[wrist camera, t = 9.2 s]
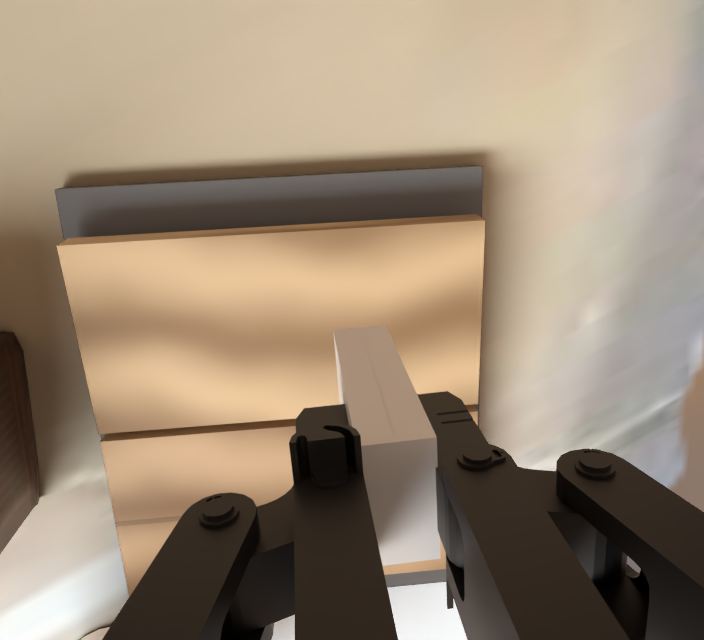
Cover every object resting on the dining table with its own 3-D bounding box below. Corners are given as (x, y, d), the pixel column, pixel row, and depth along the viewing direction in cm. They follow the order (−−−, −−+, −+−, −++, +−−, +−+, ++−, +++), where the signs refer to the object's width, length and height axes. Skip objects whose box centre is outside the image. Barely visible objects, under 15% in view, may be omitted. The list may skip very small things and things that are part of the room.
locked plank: (108, 428, 33) (100, 441, 32) (470, 399, 34) (477, 411, 33) (136, 581, 36) (129, 599, 34) (468, 549, 37) (475, 566, 36)
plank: (68, 238, 29) (56, 245, 28) (476, 214, 30) (485, 220, 29) (106, 419, 33) (98, 434, 31) (470, 390, 34) (477, 404, 33)
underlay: (62, 187, 30) (54, 189, 29) (477, 165, 32) (482, 166, 31) (137, 600, 37) (133, 612, 37) (472, 567, 39) (476, 578, 38)
